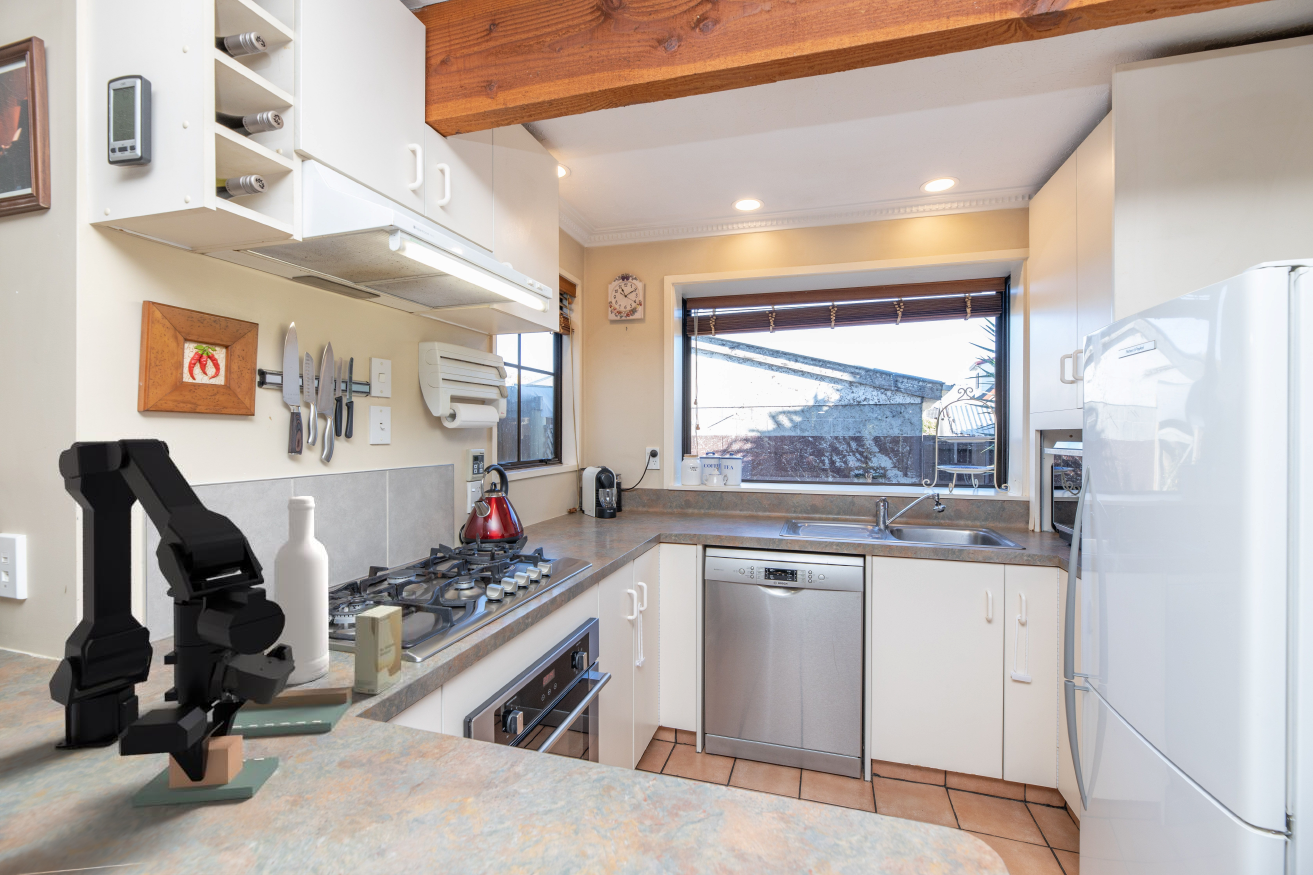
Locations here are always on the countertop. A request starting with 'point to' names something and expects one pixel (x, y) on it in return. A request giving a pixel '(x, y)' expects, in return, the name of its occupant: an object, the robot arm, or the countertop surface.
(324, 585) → the bottle
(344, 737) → the countertop surface
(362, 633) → the skincare box
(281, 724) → the dashed green plate
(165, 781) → the stub
